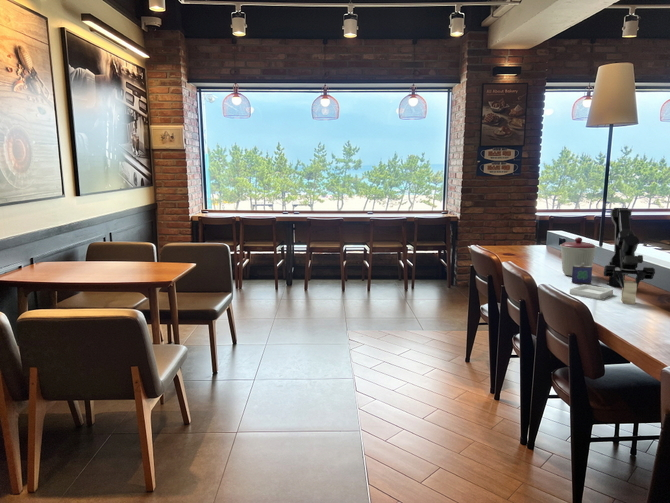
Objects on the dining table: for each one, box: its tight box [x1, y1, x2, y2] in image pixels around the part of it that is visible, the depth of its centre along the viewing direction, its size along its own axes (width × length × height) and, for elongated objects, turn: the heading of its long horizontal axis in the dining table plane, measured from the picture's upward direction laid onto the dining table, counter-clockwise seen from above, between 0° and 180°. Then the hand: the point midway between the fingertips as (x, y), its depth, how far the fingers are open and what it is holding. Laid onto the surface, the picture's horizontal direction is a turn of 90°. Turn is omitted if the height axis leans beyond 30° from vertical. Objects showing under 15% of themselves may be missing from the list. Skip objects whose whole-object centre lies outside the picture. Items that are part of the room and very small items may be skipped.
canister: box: [559, 237, 598, 277], centre depth 258 cm, size 18×18×21 cm
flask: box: [571, 263, 593, 285], centre depth 240 cm, size 9×3×11 cm, turn 78°
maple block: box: [620, 280, 638, 305], centre depth 205 cm, size 5×5×9 cm
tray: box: [569, 284, 614, 301], centre depth 219 cm, size 13×13×2 cm
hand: (629, 288), depth 203 cm, fingers closed on maple block, 5 cm apart
